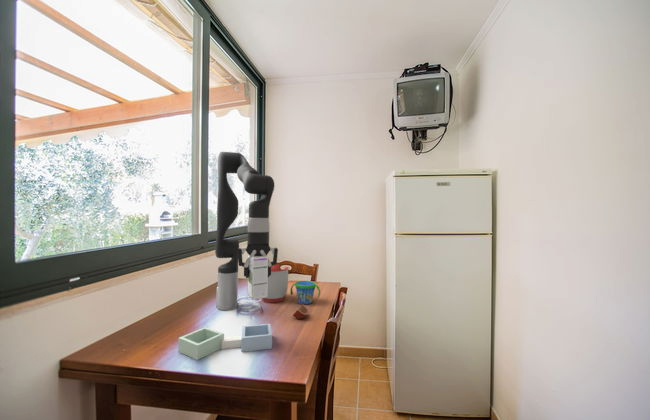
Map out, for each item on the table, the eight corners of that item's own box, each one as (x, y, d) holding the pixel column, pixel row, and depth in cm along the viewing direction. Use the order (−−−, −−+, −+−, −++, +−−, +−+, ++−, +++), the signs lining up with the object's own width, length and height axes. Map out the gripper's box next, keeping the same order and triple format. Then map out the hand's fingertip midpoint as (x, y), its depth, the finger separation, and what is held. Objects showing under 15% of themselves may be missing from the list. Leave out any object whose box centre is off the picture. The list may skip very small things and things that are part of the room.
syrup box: (268, 297, 95) (268, 255, 95) (251, 299, 92) (252, 257, 92) (262, 293, 100) (263, 253, 100) (246, 295, 96) (247, 254, 97)
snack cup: (322, 301, 143) (322, 281, 143) (315, 307, 133) (316, 286, 133) (295, 298, 147) (295, 279, 148) (287, 304, 137) (287, 284, 138)
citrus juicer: (296, 297, 148) (296, 261, 149) (274, 306, 134) (274, 266, 134) (275, 292, 157) (275, 258, 157) (252, 300, 142) (252, 262, 142)
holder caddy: (172, 363, 82) (172, 348, 82) (183, 341, 96) (183, 328, 96) (272, 351, 90) (272, 337, 90) (269, 333, 103) (270, 321, 104)
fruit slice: (296, 313, 124) (296, 303, 124) (310, 315, 123) (310, 304, 123) (290, 320, 116) (290, 309, 116) (305, 322, 115) (305, 310, 115)
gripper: (236, 231, 91) (235, 280, 90) (279, 231, 94) (279, 278, 94) (237, 229, 98) (237, 275, 98) (277, 229, 102) (277, 274, 101)
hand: (257, 277), depth 96 cm, fingers closed on syrup box, 6 cm apart
